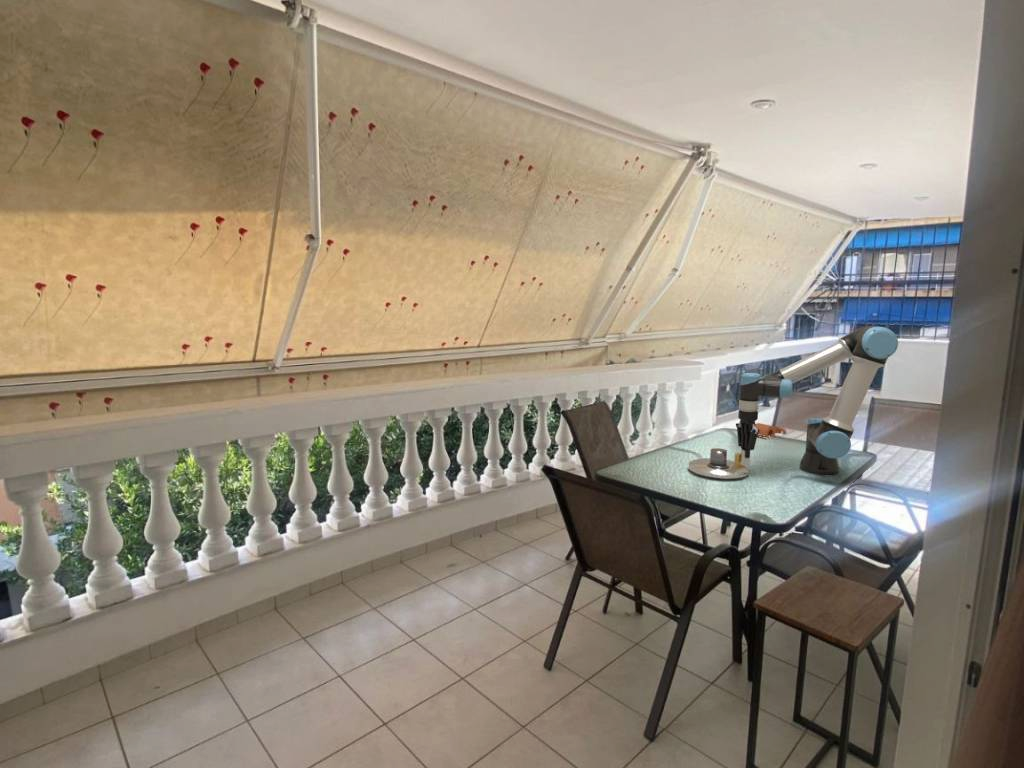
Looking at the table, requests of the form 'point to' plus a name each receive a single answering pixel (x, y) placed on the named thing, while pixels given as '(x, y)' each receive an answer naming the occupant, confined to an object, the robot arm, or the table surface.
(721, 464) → the cover
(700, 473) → the turntable
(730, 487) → the table surface
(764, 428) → the orange elongated piece
